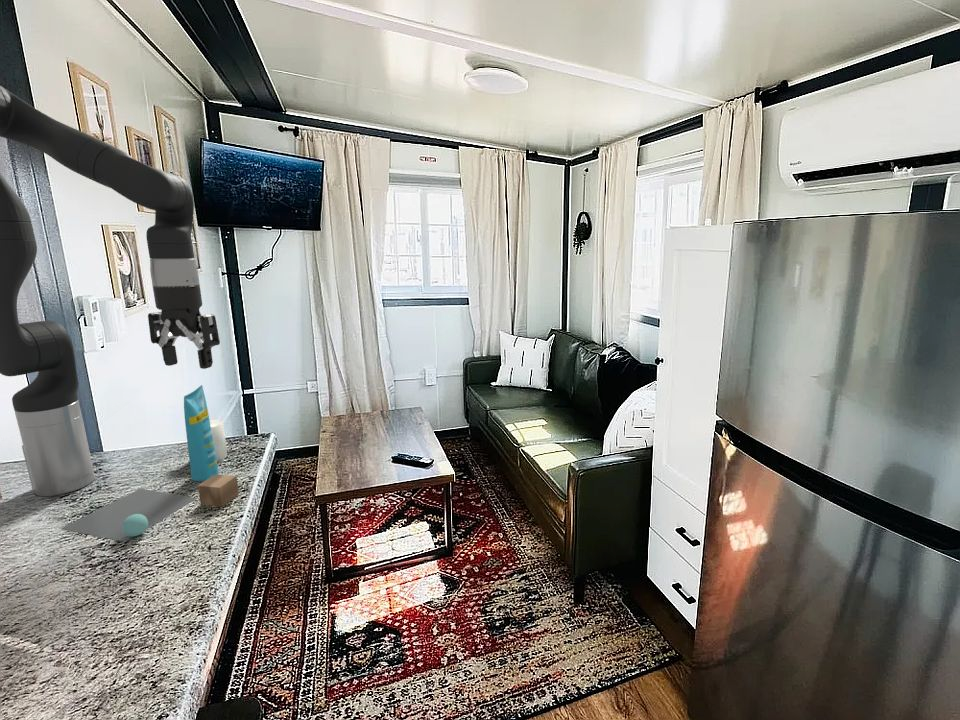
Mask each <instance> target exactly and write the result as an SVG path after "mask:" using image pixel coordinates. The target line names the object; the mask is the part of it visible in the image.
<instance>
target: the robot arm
mask: <svg viewBox="0 0 960 720" xmlns="http://www.w3.org/2000/svg"><path fill="white" fill-rule="evenodd" d="M0 138H4V139H7V140H12V141H14V142H17V143H21V144H24V145H26V146H29V147H31V148H34V149H36V150H38V151H40V152H42V153H43V154H46V155H47V156H48V157H51V159H53V160H54V161H56V162H57V163H59V164H60V165H62V166H63V167H66V169H68V170H71V171H72V172H74V173H77V174H78V175H81V176H83V177H85V178H87V179H88V180H91V181H93V182H95V183H97V184H100V185H102V186H104V187H106V188H109V189H111V190H114V192H116V193H118V195H120V196H122V197H124V198H125V199H128V200H129V201H131V202H133V203H135V204H137V205H139V206H141V207H144V208H146V209H147V210H148V209H149V210H153V211H154V212H155V213H154V214H155V215H154V216H155V218H154V224H153V225H152V226H150V227H148V228H147V230H146V235H145V236H146V244H147V251H148V256H149V263H150V264H149V272H150V279H151V284H152V285H151V286H152V290H153V291H152V292H153V298H154V302H155V304H154V305H155V308H156V309H158V310H159V311H158V312H150V313H148V314H147V319H148V320H147V321H148V328H149V336H150V337H149V338H150V342H151V343H152V344H157V345H158V347H160V348H161V352H162V353H161V354H162V357H163V362H164V365H165V366H167V367H168V366H169V367H170V366H171V367H172V366H174V365H177V364H178V363H179V362H178V356H177V349H176V345H175V342H176V340H177V339H178V338H179V337H182V338H187V339H188V340H189V341H190V342H193V344H194V345H195V347H196V348H197V356H198V363H199V368H200V369H202V370H206V369H209V368H211V367H213V363H214V362H213V356H212V348H214V347H215V346H219V345H220V343H221V341H220V336H219V335H220V334H219V330H218V325H217V324H218V323H217V319H216V315H215V314H213V313H212V314H211V313H210V314H204V315H202V313H201V312H200V308H201V307H203V300H202V291H201V285H200V279H199V271H198V266H197V263H196V259H195V252H194V251H195V250H194V244H193V239H192V230H193V225H194V224H193V222H194V210H195V209H194V208H195V207H194V206H195V205H194V203H195V202H194V196H193V192H192V190H191V188H190V185H189V184H188V182H187V181H186V180H185V179H184V178H182V177H181V176H180V175H178V174H175V173H172V172H168V171H165V170H161V169H158V168H155V167H153V166H151V165H148V164H146V163H143V162H141V161H139V160H138V159H135V158H133V156H131V155H130V154H128V153H126V152H125V151H123V150H122V149H120V148H118V147H115V146H113V145H112V144H109V143H107V142H105V141H103V140H101V139H99V138H96V137H95V136H92V135H91V134H88V133H86V132H83V131H81V130H79V129H76V128H74V127H72V126H69V125H67V124H65V123H63V122H61V121H58V120H57V119H54V118H53V117H50V116H49V115H47V114H46V113H43V112H41V111H40V110H39V109H36V107H34V106H32V105H30V104H29V103H27V102H26V101H24V100H23V99H21V98H20V97H19V96H17V95H16V94H14V93H12V92H10V90H8V89H6V88H5V87H3V86H2V85H0ZM37 252H38V246H37V241H36V236H35V232H34V228H33V224H32V219H31V216H30V214H29V211H28V209H27V208H26V206H25V204H24V202H23V201H22V200H21V197H19V195H18V194H17V193H16V192H15V190H14V189H13V188H12V186H11V185H10V184H9V182H8V181H7V180H6V178H5V177H4V175H3V174H2V173H1V172H0V374H1V375H2V376H4V377H16V376H21V375H22V376H23V375H29V374H33V373H37V372H38V373H37V375H36V377H35V379H34V380H32V381H31V383H29V384H27V386H25V387H23V388H22V389H20V390H18V391H17V392H16V393H14V394H13V395H12V398H11V401H12V406H13V410H14V414H15V419H16V422H17V425H18V429H19V434H20V438H21V442H22V445H21V449H22V452H23V456H24V457H23V458H24V462H25V465H26V469H27V473H28V474H27V475H28V477H29V481H30V484H31V485H30V486H31V490H33V491H34V494H35V495H36V496H39V497H51V496H52V497H54V496H59V495H63V494H68V493H71V492H74V491H77V490H79V489H82V488H84V487H86V486H88V485H89V484H92V482H93V481H94V480H95V479H96V478H95V473H94V472H95V470H94V467H93V466H94V465H93V461H92V458H91V456H92V455H91V452H90V447H89V442H88V438H87V434H86V429H85V423H84V419H83V415H82V409H81V406H80V401H79V396H78V390H79V385H80V384H79V378H78V371H77V363H76V355H75V349H74V344H73V341H72V338H71V335H70V334H69V332H68V330H67V329H66V328H65V327H64V326H63V325H62V324H61V323H59V322H57V321H54V320H41V321H40V320H38V321H31V322H24V323H23V322H22V323H20V321H19V317H18V297H19V294H20V293H19V292H20V290H21V288H22V285H23V283H24V282H25V280H26V279H27V276H28V274H29V273H30V271H31V269H32V267H33V264H34V262H35V260H36V257H37V254H38V253H37ZM158 332H159V335H158Z"/></svg>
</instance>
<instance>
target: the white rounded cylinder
mask: <svg viewBox="0 0 960 720" xmlns="http://www.w3.org/2000/svg"><path fill="white" fill-rule="evenodd" d="M209 420H210V425H211V431H212V437H213V443H214V448H215V454H216V460H217V463H219V462H221V461H223V460H224V458H225V459H226V458H227V457H228V449H227V443H226V442H227V441H226V435H225V433H226V432H225V427H224V421H223V420H220V419H209Z"/></svg>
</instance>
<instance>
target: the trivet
mask: <svg viewBox="0 0 960 720" xmlns="http://www.w3.org/2000/svg"><path fill="white" fill-rule="evenodd" d="M197 499H198V497H192V496H188V495H187V496H186V495H180V494H175V493H171V492H170V493H169V492H164V491H156V490H152V489H151V490H150V489H144V488H139V489H137V490H135V491H133V492H131V493H128V494H126V495H125V496H123V497H121V498H119V499H117V500H115V501H113V502H110V503H109V504H107V505H105V506H103V507H101V508H99V509H97V510H95V511H94V512H92V513H89V514H88V515H86V516H83V517H82V518H79V519H78V520H75V521H73V522H72V523H70V524H68V525H66V526H64V527H61V530H65V531H68V532H74V533H79V534H82V535H83V534H84V535H89V536H94V537H98V538H103V539H108V540H113V541H119V542H123V543H127V542H128V541H130V540H131V539H133V538H134V537H131V536H127V535H125V534H124V533H123V531H122V524H123V522H124V520H125V519H126V518H127V517H129V516H131V515H134V514H141V515H144V516H145V517H146V518H147V520H148V527H147V529H146V530H148V529H149V528H151V527H152V526H154V525H157V524H158V523H159V522H161V521H162V520H164V519H166V518H168V517H169V516H171V515H173V514H174V513H176V512H177V511H179V510H181V509H183V508H184V507H186V506H188V505H189V504H190V503H192V502H194V501H196V500H197Z"/></svg>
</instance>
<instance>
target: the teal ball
mask: <svg viewBox="0 0 960 720" xmlns="http://www.w3.org/2000/svg"><path fill="white" fill-rule="evenodd" d="M147 527H148V520H147V518H146V517H145V516H144V515H141V514H134V515H131V516H129V517H127V518H126V519H125V520H124V522H123V524H122V531H123V533H124V534H125V535H127V536H131V537H133V538H135V537H137V536H140V535H142V534H143V533H145V532H146V530H148V529H147Z"/></svg>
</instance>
